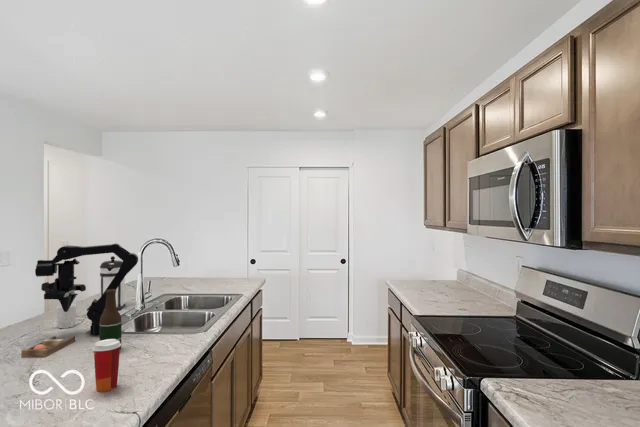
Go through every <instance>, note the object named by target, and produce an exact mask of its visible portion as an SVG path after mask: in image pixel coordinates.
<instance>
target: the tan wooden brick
mask: <svg viewBox="0 0 640 427" xmlns="http://www.w3.org/2000/svg"><path fill="white" fill-rule="evenodd" d="M63 341H64V338H56V339H50V338H46V339H44V340H42V345H44V346H45V347H46V349H50V348H52V347H54V346H56V345H58V344H60V343H62V342H63Z"/></svg>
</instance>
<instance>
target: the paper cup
mask: <svg viewBox="0 0 640 427" xmlns="http://www.w3.org/2000/svg"><path fill="white" fill-rule="evenodd" d="M120 346H121V347H122V342H121V343H120V341H119V340H117V339H106V340H102V341H96V342H95V343H94V345H93V347H92V349H91V350H92V351H93V357H94V359H93V360H94V362H93V363H94V373H95V374H94V377H95V390H96V391H97V392H98V393H99V392H100V393H105V392H109V391H110V392H111V391H112V390H114V389H116V388H117V386H118V378H119V366H120Z"/></svg>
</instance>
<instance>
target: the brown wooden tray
mask: <svg viewBox="0 0 640 427" xmlns="http://www.w3.org/2000/svg"><path fill="white" fill-rule="evenodd" d="M49 339H57V337H56V336H53V337H50V338H49ZM75 342H76V336H72V337H70V338H68V339H66V340H63V342H62V343H60V344H58V345H56V346H54V347H52V348H50V349H34V347H35V346H37V345H40V344H42V342H39V343H37V344H35V345H34V346H33V345H32V346H30V347H29V348H27V349H22V350H21V351H20V352H21V354H20V356H21V358H47V357H49V356H50V355H53V354H54V353H56V352H58V351H59V350H62V349H63V348H65V347H68V346H70V345H71V344H73V343H75Z"/></svg>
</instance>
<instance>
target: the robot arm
mask: <svg viewBox="0 0 640 427" xmlns="http://www.w3.org/2000/svg"><path fill="white" fill-rule="evenodd" d="M100 254H101V255H102V254H103V255H104V254H114V255H115V256H116V257H117V258H119V260H120V259H121V260H120V261H123V262H122V264H121V267H120V269H119V271H118V273H117V274H116V276H115V277H114V279H113V280H112V282H111V283H110V284H109V286H108V287H107V289H106V290H108V289H115V290H116V289H117V288H118V286H119V285H120V283H121V282H122V280H123V279H124V277H126V276H127V275H128V274H129V273H130V272H131V271H132V270H133V269H134V268H135V267H136V266H137V264H138V262H139V255H137V254H136V253H134V252H133V253H132V252H130V251H128V249H125V248H124V247H122V246H121V244H118V243H112V244H101V245H89V246H81V245H64V246H62V247H60V248H58V250H57V252H56V255H55V256H54V257H53V258H52V259H47V260H46V259H45V260H43V259H38V260H37V262H36V266H35V271H34V272H35V276H36V277H53V276H54V275H55V274H57V277H56V278H55V279H54V282H48V281H47V282H43V283H41V288H40V289H41V291H43V292H44V294H43V300H57V301H59V303H60V305H61V306H62V308H63V310H64V312H67V311H68V310H69V308H70V306H71V304H73V302H74V301H75V298H76V297H77V296H78V295H79V294H78V293H76V291H80V292H85V291H86V290H87V288H86V287H87V286H86V285H85V284H83V283H75V280H77V276H75V265H79V264H80V263H81V262H80V261H79V260H77V258H79V257H83V256H93V255H100ZM71 259H72V260H71ZM61 261H63V262H61ZM106 290H105V292H104V293H103V295H102V296H101V297H100V296H99V298H98V299H96V298H94V299H93V300H92V302H91V304H90V305H89V306H88V307H87V309H86V311H87V312H86V318H87V319H88V320H89V321H91V325H90V327H89V328H90V332H89V334H90V335H91V336H94V337H95V336H96V337H99V334H100V318H101V315H102V313H103V312H104V311H105V305H106Z"/></svg>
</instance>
